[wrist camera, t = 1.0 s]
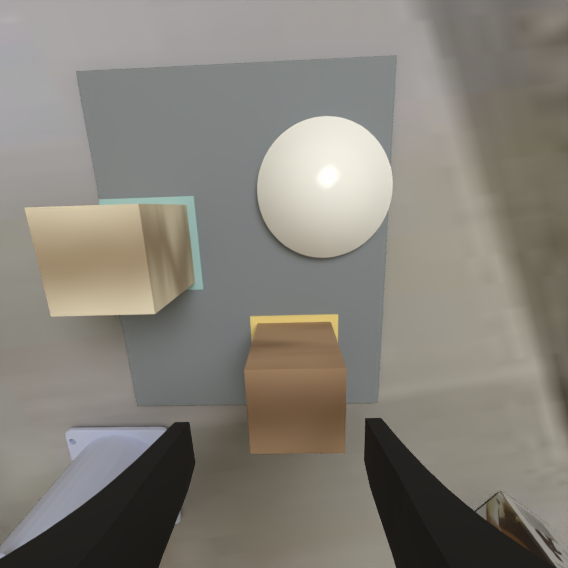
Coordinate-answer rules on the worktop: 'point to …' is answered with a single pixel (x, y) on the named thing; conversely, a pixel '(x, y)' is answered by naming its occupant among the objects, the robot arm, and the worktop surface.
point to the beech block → (112, 257)
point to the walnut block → (295, 389)
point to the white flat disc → (324, 186)
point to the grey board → (236, 214)
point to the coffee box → (525, 529)
